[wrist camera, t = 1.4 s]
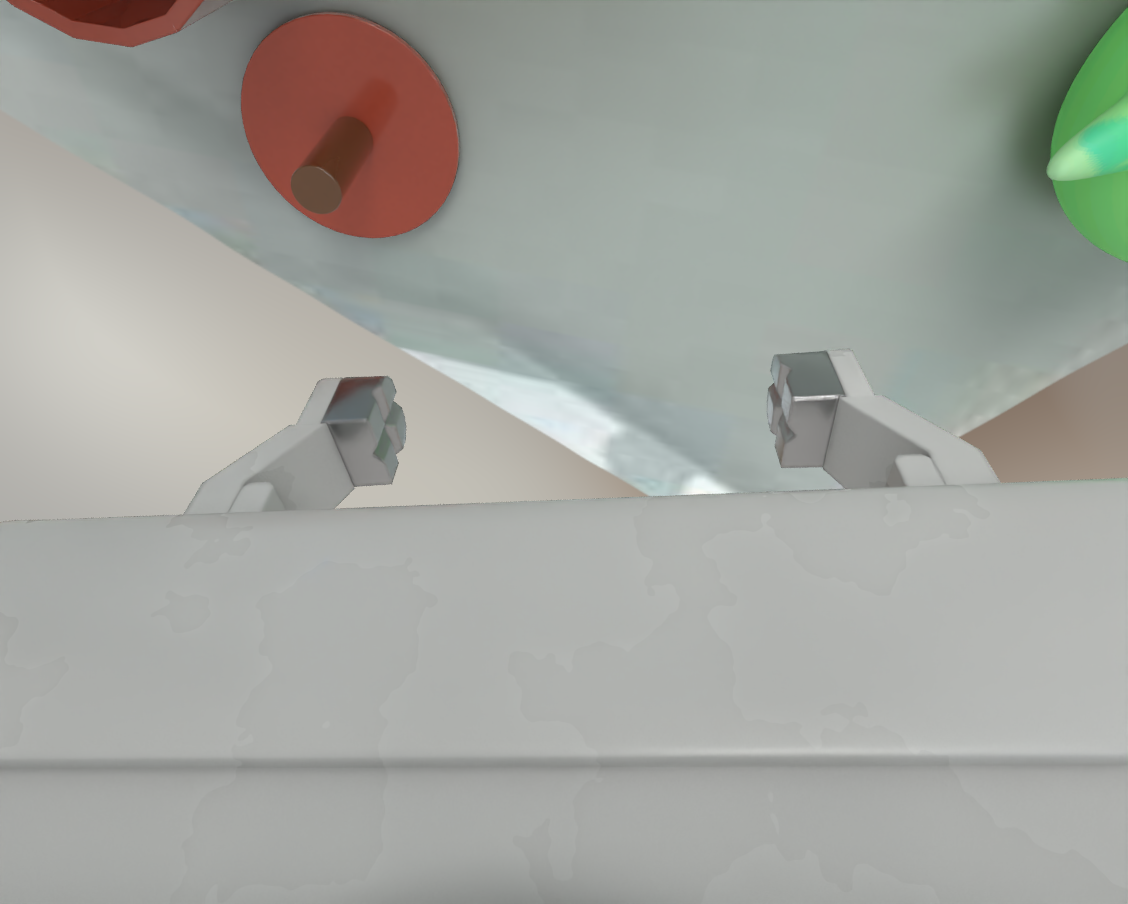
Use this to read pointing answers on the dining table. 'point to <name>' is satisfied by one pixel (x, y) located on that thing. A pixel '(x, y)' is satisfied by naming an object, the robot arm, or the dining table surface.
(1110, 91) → the toy bird
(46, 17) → the pot
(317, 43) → the lid
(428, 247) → the dining table surface
